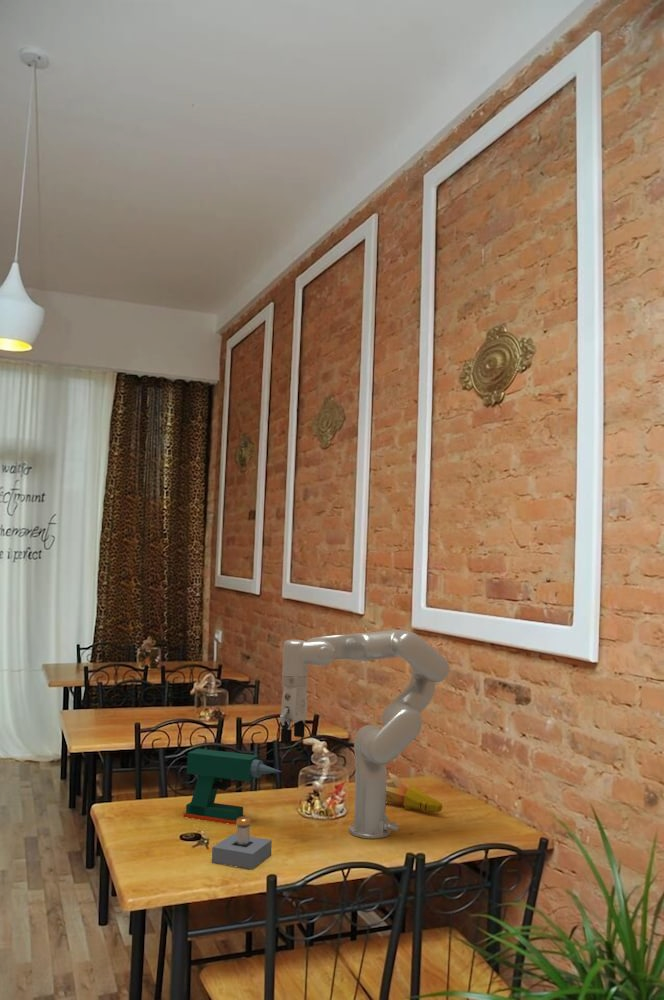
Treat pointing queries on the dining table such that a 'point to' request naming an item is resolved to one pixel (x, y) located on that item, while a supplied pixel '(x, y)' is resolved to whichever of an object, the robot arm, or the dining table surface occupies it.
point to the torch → (410, 796)
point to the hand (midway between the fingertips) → (292, 739)
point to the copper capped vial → (243, 831)
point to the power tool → (208, 782)
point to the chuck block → (241, 852)
